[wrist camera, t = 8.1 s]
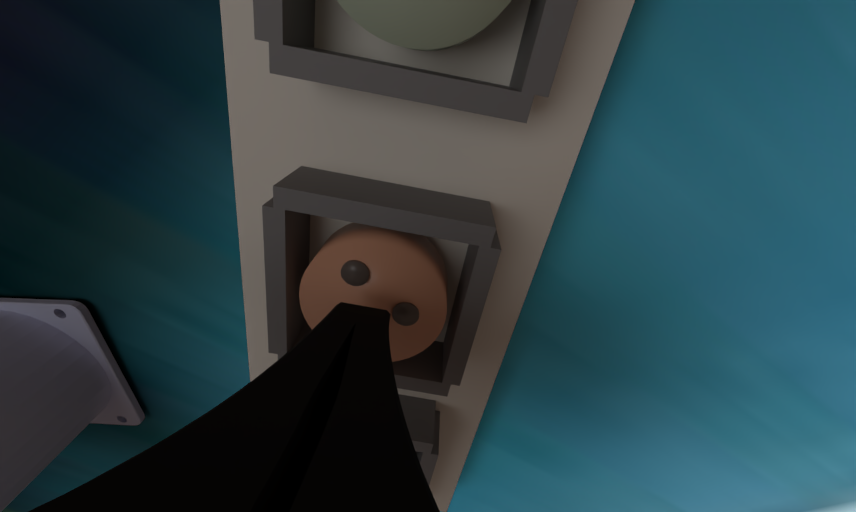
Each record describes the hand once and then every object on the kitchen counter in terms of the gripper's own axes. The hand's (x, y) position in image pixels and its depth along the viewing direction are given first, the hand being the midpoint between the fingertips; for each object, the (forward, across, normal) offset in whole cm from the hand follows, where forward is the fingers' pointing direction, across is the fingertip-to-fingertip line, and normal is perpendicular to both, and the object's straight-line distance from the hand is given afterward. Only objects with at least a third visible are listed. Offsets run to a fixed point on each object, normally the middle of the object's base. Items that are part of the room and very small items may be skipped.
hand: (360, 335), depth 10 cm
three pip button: (+3, 0, 0) cm, 3 cm away
